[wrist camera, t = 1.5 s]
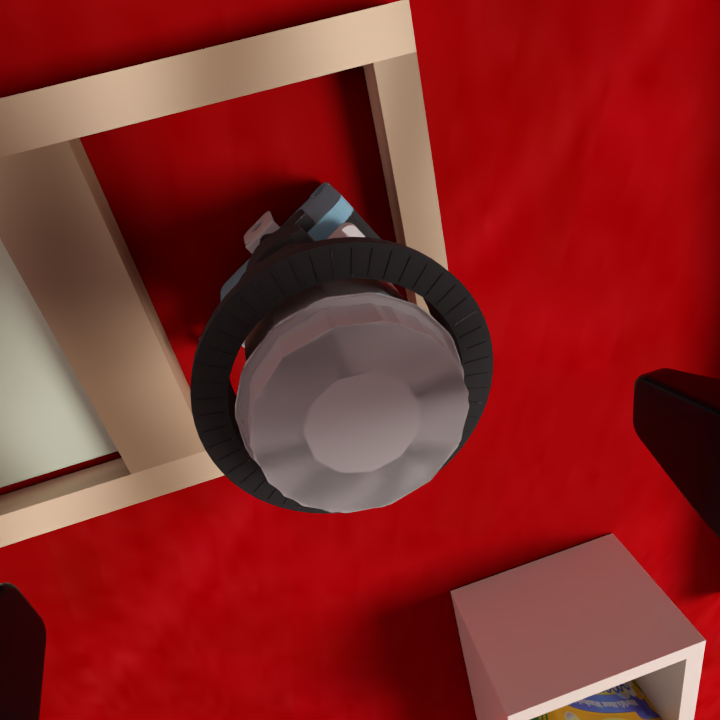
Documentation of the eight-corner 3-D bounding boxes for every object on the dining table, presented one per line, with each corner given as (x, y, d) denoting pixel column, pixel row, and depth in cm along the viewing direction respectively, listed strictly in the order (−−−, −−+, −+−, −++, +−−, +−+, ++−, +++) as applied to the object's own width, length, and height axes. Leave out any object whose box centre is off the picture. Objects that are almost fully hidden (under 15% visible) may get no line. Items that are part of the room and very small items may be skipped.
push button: (264, 385, 19) (302, 635, 11) (137, 285, 17) (47, 504, 8) (404, 252, 18) (574, 407, 9) (290, 124, 16) (379, 176, 7)
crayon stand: (612, 533, 27) (706, 640, 22) (610, 677, 33) (683, 788, 28) (450, 591, 26) (507, 716, 21) (478, 728, 32) (528, 851, 27)
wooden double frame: (395, 4, 15) (408, -2, 14) (454, 381, 21) (466, 397, 20) (-446, 210, 13) (-504, 221, 12) (-114, 562, 19) (-134, 590, 18)
